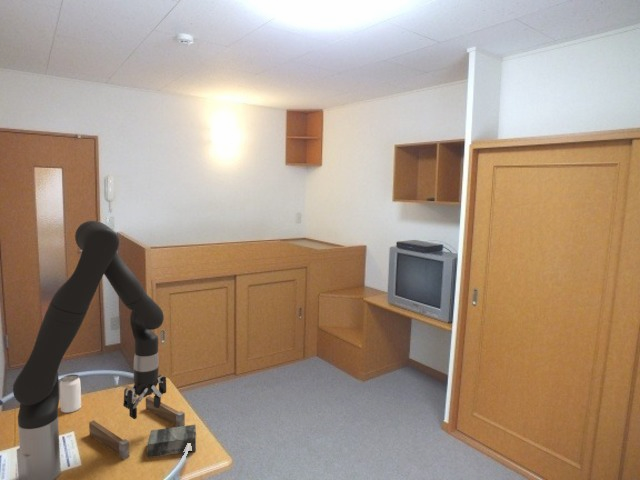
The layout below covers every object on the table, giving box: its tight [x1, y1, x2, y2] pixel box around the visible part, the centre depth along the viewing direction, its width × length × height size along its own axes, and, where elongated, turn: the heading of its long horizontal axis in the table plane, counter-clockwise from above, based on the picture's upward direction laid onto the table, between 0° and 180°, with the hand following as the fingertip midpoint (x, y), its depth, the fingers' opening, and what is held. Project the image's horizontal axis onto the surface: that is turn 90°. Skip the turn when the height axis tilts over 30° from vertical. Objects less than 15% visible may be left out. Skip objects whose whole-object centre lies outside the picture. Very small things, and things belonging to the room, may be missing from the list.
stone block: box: [146, 424, 197, 458], centre depth 134 cm, size 9×14×5 cm, turn 104°
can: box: [59, 373, 82, 414], centre depth 153 cm, size 6×6×12 cm
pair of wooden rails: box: [88, 395, 186, 461], centre depth 142 cm, size 22×20×5 cm
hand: (145, 412), depth 138 cm, fingers open, 8 cm apart
